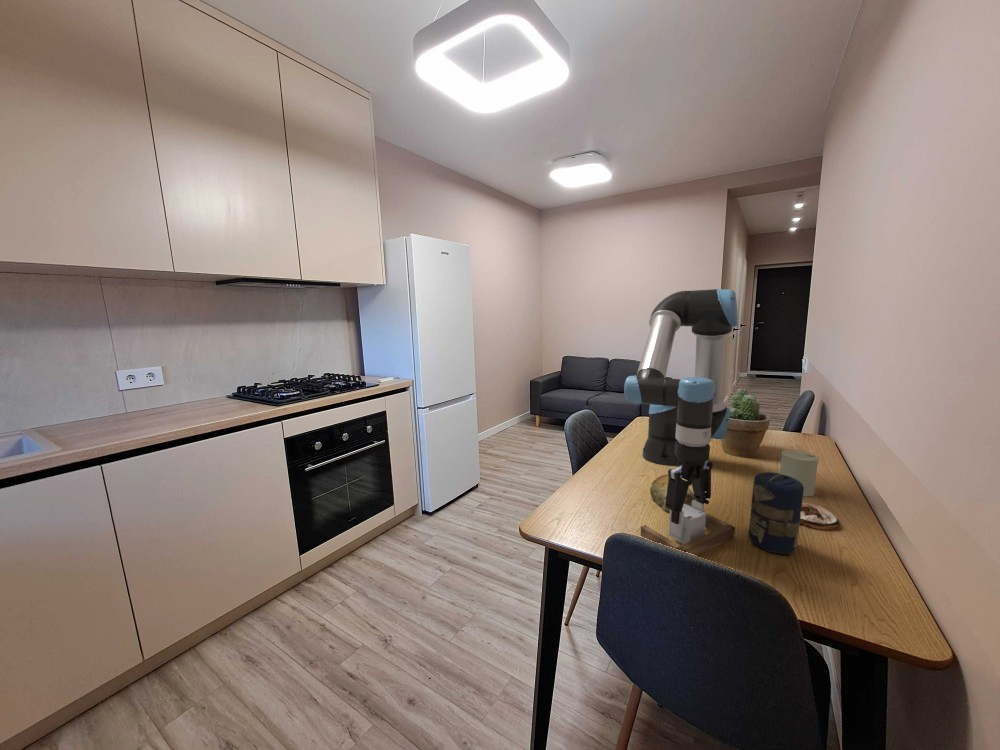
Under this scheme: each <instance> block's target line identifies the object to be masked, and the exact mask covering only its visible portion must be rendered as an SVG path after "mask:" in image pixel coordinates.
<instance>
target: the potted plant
mask: <svg viewBox="0 0 1000 750" xmlns="http://www.w3.org/2000/svg"><path fill="white" fill-rule="evenodd" d="M748 392H749V391H748V390H747V389H745V388H738V389H736V393H735V395H732V396H731V400H730V403H731V408H729V409H730V417H729V421H728V427H727V431H726V434H725V436H724V438H722V439H719V441H720V445H721V448H722V451H723V452H724V453H726V454H728V455H731V456H735V457H740V458H752V457H755V456H756V454H757V452H758V450H759V447H760V445H761V443H762V442H763V440H764V438H765V435H766V432H767V431H768V429H769V426H770V421H771V419H772V418H771V417H770V416H769V415H767V414H764V413H762V412H760V406H761V401H760V399H758V398H756V397H755V396H753V395H751V394H748Z"/></svg>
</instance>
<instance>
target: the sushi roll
mask: <svg viewBox="0 0 1000 750" xmlns="http://www.w3.org/2000/svg"><path fill="white" fill-rule="evenodd" d="M799 526H801V527H806V528H809V529H812V530H816V531H817V530H818V531H823V530H824V531H826V530H833V529H835V528H837V527H838V526H840V521H839V519H838V518H837V516H836V515H835V514H834V513H832V512H831V511H830V510H828V509H827V508H826V507H824V506H820V505H817V504H813V503H808V502H802V507H801V515H800V525H799Z"/></svg>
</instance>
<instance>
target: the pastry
mask: <svg viewBox="0 0 1000 750" xmlns="http://www.w3.org/2000/svg"><path fill="white" fill-rule="evenodd" d="M668 480H669V476H668V473H667V474H663V475H661V476H658V477H656V478H655V479H653V480H652V482H651V486H650V487H649V493H650V496H651V497H652V499H653V501H654V503H656V504H657V505H658V506H659V507H661V508H662V511H664V512H666V513H670V509H668V508H666V507H665V503H666V495H667V488H668ZM692 500H696V499H695V498H694V493H693V490H692V489H691V488H690V486H689V487H688V491H687V494H686V498H685V501H684V504H687V505H689V506H691V507H692Z"/></svg>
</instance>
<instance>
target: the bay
mask: <svg viewBox="0 0 1000 750" xmlns="http://www.w3.org/2000/svg"><path fill="white" fill-rule="evenodd" d="M705 513H706V522H705V529H706V528H707V529H708V530H710V532H708V533H705V535H703V536H701V537H699V538H697V539H694V540H692V541H690V542H688V543H685V544H683V543H682V544H681V545H680V544H679V543H677V542H675V541H674V540H671V539H670V538H668V537H666V536H665V535H663V534H662V533H660V532H658V531H656V530H654V529H653V528H651V527H650V526H647V524H644V525H641V526H640V536H642V537H644V538H647V539H649V540H652V541H654V542H657V543H661V544H663V545H666V546H669V547H672V548H675V549H678V550H681V551H684V552H688V553H691V554H694V555H698V556H699V555H702V554H704V553H706V552H708V551H710V550H712V549H715V548H716V547H718V546H721V545H722V544H723V545H724V543H727V542H729V541H731V540H733V539H734V538H735V531H736V530H735V529H736V526H734V525H732V524H730V523H728V522H725V521H723V520H721V519H718V518H717V517H715V516H713V515H711V514H709V513H707V512H705ZM703 552H704V553H703Z"/></svg>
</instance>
